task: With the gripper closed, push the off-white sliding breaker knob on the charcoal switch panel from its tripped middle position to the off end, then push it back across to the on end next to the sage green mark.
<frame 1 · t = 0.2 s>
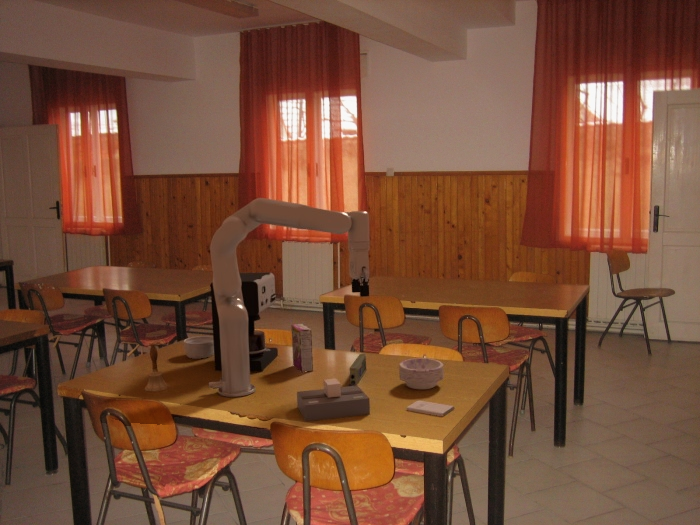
hand: (360, 294, 244), 31 cm above the table, tool pointing down, fingers open, 9 cm apart
candy bar box: (302, 369, 265), on the table
pale lavender bowl: (421, 386, 239), on the table
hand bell: (156, 388, 245), on the table
handheld radio: (357, 380, 248), on the table
ramekin: (200, 356, 289), on the table
switch panel: (332, 410, 215), on the table
coffee maker: (246, 364, 273), on the table
external hard drive: (430, 411, 214), on the table
breaker knob: (332, 387, 215), point 7 cm above the table, slide at 0.0 cm
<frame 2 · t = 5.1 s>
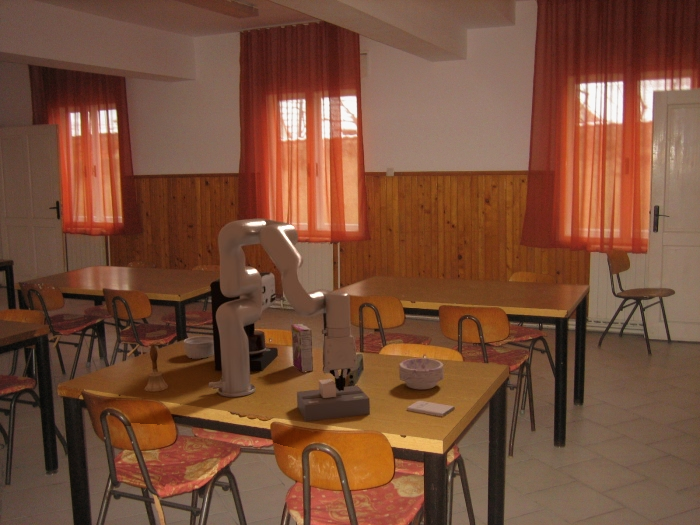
hand: (340, 389, 215), 6 cm above the table, tool pointing down, fingers closed
breaker knob: (327, 388, 214), point 7 cm above the table, slide at -1.6 cm, touching gripper
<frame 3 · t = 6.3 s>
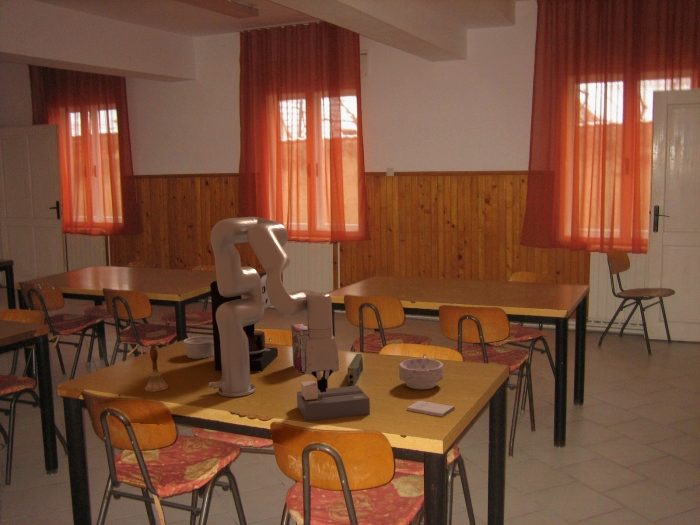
hand: (322, 391, 214), 7 cm above the table, tool pointing down, fingers closed
breaker knob: (309, 390, 213), point 7 cm above the table, slide at -7.2 cm, touching gripper
everything else where it was.
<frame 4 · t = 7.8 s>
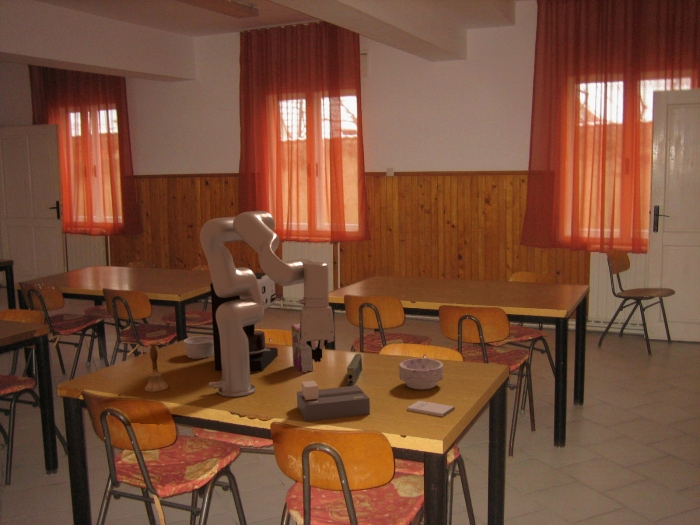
hand: (317, 360, 213), 16 cm above the table, tool pointing down, fingers closed
breaker knob: (309, 390, 213), point 7 cm above the table, slide at -7.0 cm
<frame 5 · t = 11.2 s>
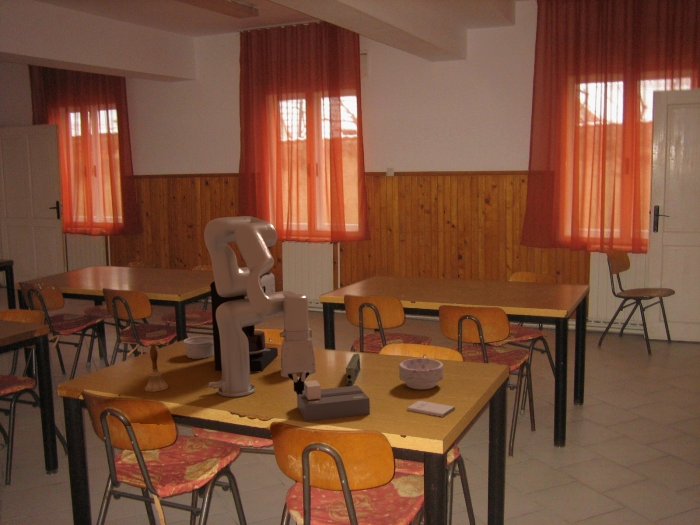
hand: (299, 393, 212), 7 cm above the table, tool pointing down, fingers closed
breaker knob: (312, 389, 213), point 7 cm above the table, slide at -6.3 cm, touching gripper
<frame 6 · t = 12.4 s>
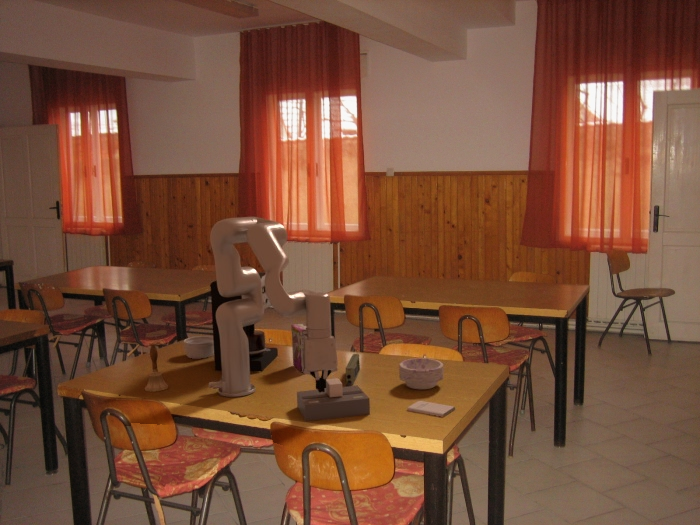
hand: (321, 390, 214), 7 cm above the table, tool pointing down, fingers closed
breaker knob: (333, 387, 215), point 7 cm above the table, slide at 0.6 cm, touching gripper
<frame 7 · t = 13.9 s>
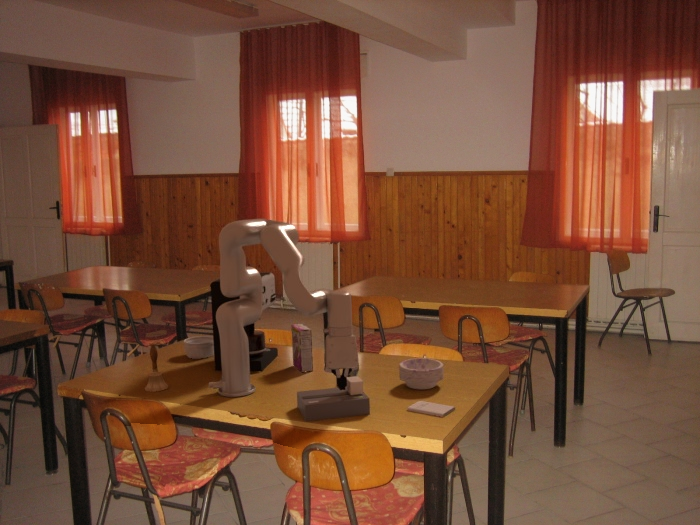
hand: (341, 388, 215), 7 cm above the table, tool pointing down, fingers closed
breaker knob: (354, 385, 216), point 7 cm above the table, slide at 7.2 cm, touching gripper
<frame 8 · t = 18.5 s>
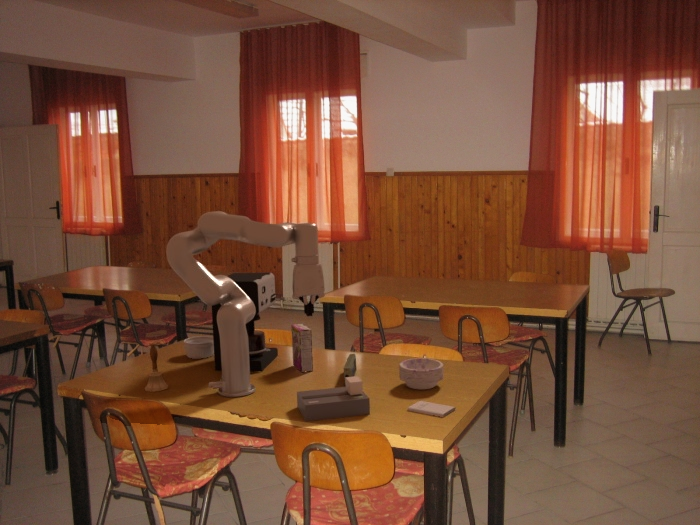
hand: (309, 315, 229), 27 cm above the table, tool pointing down, fingers closed
breaker knob: (354, 385, 216), point 7 cm above the table, slide at 7.0 cm
at the end: breaker knob slide at 7.0 cm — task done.
